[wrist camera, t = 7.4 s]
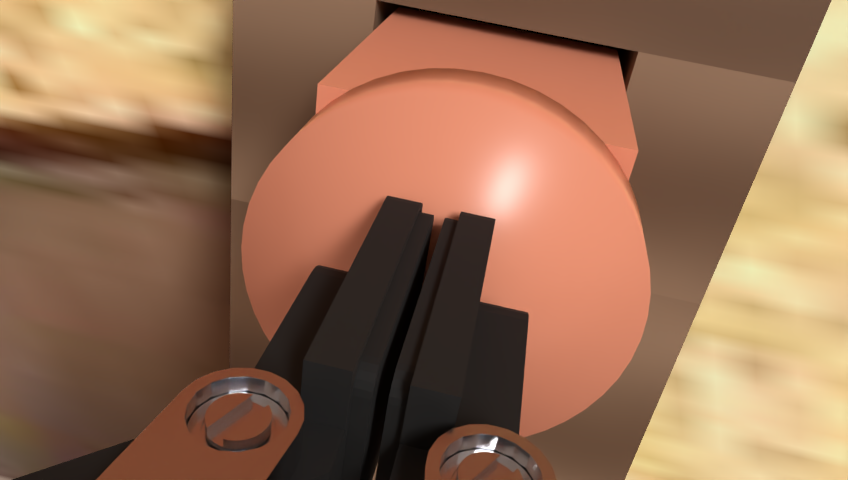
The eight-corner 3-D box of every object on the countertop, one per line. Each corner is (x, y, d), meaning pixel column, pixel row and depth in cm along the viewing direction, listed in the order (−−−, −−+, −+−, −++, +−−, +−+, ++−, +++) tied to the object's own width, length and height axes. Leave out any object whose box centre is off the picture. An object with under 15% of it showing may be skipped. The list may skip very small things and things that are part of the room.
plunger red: (372, -32, 16) (244, 49, 10) (658, 24, 15) (715, 147, 9) (346, 216, 19) (238, 395, 13) (581, 268, 19) (585, 481, 12)
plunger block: (324, -147, 19) (234, -143, 14) (768, -67, 18) (844, -31, 13) (281, 489, 33) (226, 610, 27) (538, 555, 32) (531, 694, 26)
